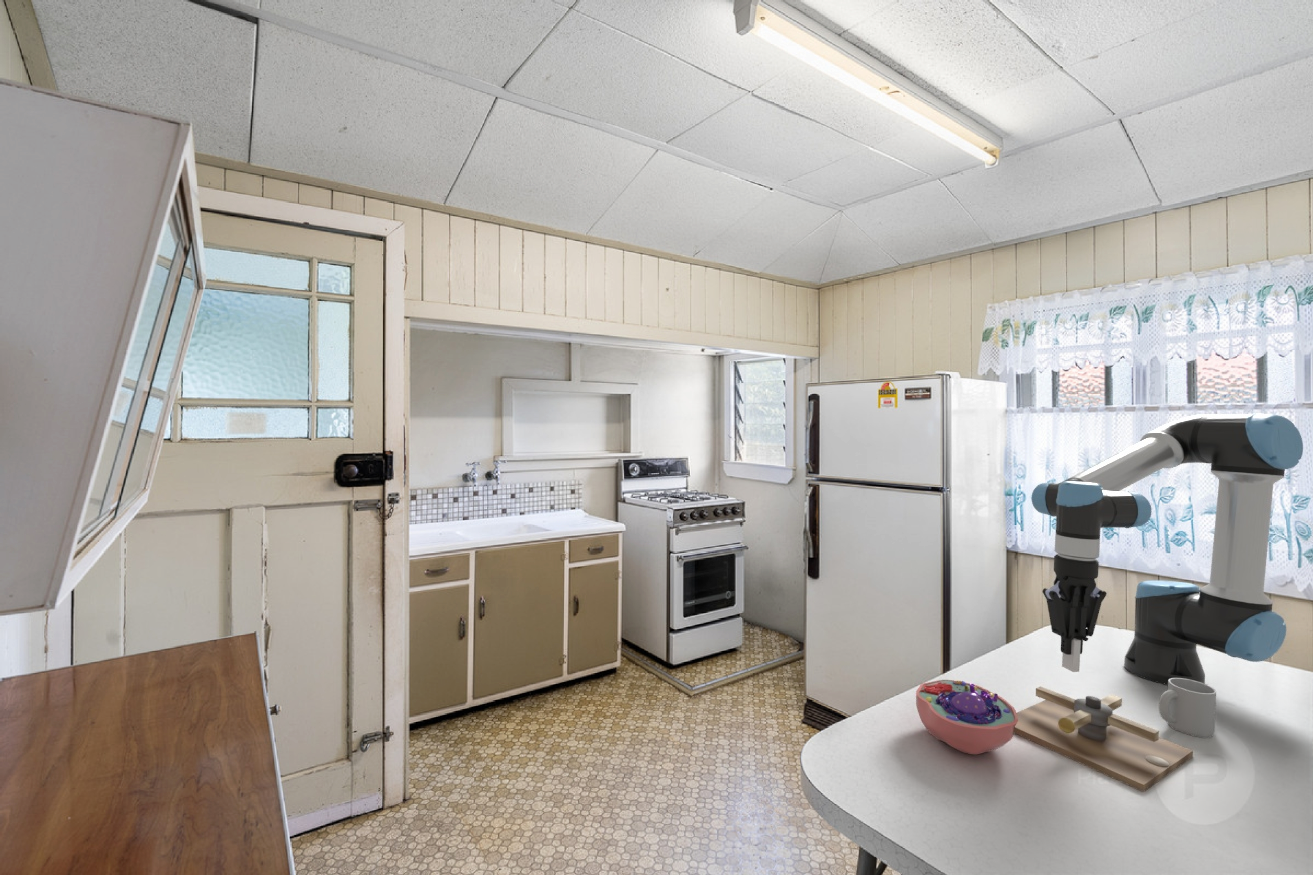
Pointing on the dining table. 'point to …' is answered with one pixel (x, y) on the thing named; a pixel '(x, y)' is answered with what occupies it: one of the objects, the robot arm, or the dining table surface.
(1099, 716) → the capstan
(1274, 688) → the dining table surface
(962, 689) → the cell model
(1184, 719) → the cup
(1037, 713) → the stand
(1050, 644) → the dining table surface
